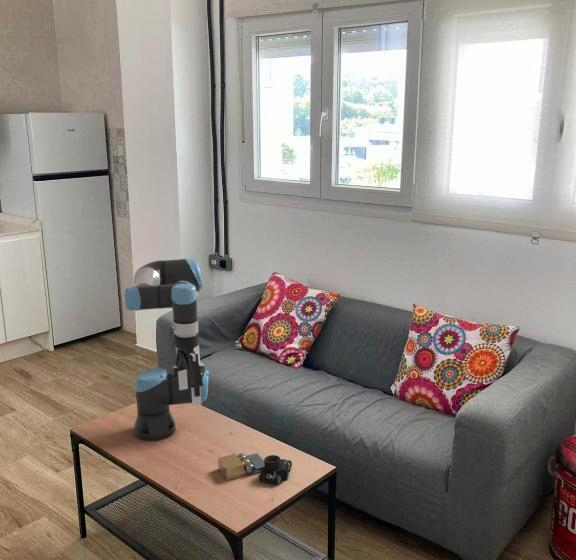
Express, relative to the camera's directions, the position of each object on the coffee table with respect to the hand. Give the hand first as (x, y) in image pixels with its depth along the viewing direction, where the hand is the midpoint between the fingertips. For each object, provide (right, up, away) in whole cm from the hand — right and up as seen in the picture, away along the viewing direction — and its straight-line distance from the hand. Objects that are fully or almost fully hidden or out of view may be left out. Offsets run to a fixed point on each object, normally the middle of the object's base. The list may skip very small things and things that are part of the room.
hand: (190, 397), depth 204 cm
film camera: (+27, -26, +4) cm, 38 cm away
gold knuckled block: (+14, -26, +7) cm, 30 cm away
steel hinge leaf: (+19, -25, +9) cm, 33 cm away
